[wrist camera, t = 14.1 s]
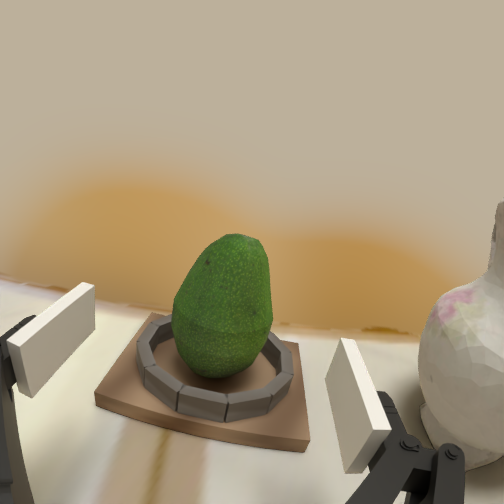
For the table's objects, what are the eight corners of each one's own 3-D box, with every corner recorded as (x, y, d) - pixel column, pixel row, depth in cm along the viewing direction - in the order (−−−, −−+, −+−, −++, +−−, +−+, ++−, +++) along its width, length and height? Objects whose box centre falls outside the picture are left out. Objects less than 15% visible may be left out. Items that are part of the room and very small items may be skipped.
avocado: (273, 370, 28) (307, 243, 25) (221, 412, 21) (253, 258, 18) (206, 333, 32) (225, 216, 29) (147, 361, 25) (158, 222, 22)
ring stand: (95, 405, 20) (91, 371, 19) (151, 324, 34) (153, 295, 33) (304, 452, 20) (319, 422, 19) (294, 354, 34) (302, 327, 33)
